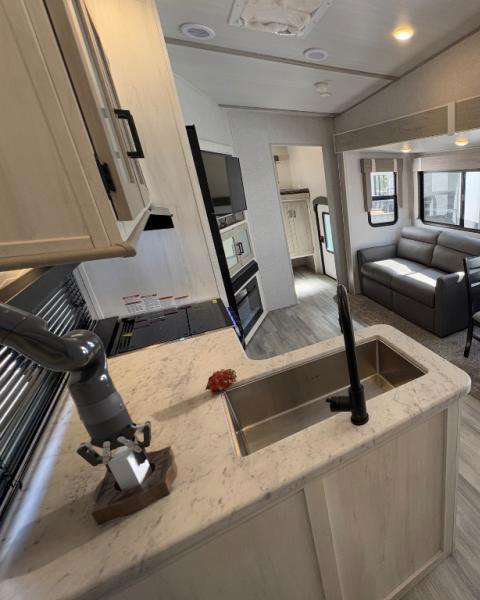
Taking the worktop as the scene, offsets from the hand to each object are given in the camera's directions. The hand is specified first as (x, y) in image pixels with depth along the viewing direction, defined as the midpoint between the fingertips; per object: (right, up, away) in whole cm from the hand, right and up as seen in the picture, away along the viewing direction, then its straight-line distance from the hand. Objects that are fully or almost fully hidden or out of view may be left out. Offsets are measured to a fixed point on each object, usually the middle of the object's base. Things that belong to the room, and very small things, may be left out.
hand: (130, 466), depth 78 cm
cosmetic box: (0, -7, +3) cm, 8 cm away
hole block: (+1, -7, +3) cm, 7 cm away
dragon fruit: (0, +7, +42) cm, 42 cm away
